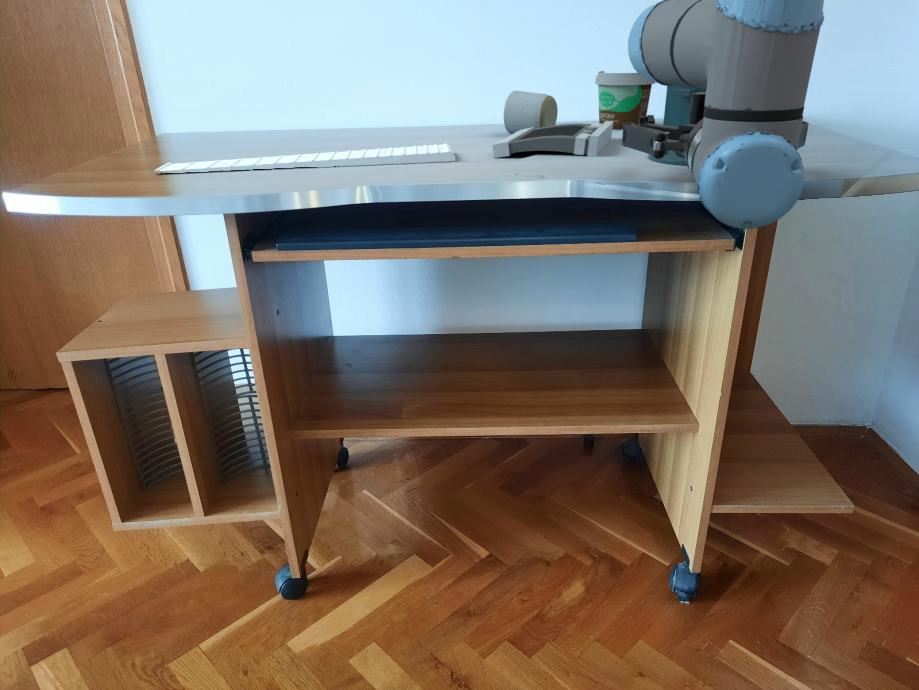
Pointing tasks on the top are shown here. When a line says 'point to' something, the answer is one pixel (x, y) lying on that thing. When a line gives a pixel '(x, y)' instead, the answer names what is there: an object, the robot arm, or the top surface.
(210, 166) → the keyboard
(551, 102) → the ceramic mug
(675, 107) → the pot
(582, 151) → the grey curved frame
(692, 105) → the lid
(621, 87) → the food container
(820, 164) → the top surface
